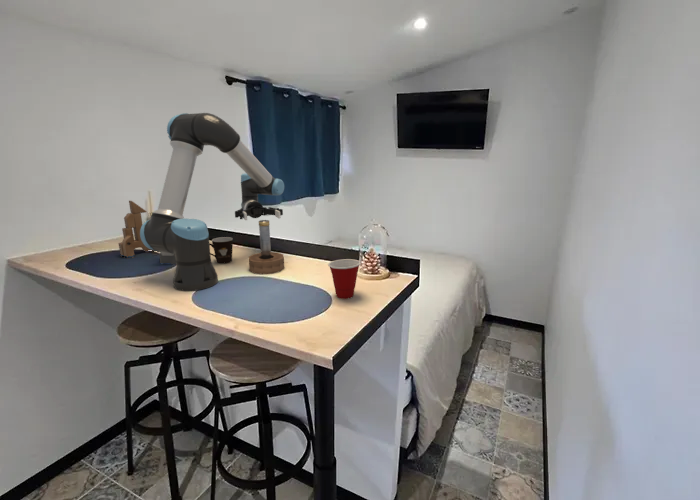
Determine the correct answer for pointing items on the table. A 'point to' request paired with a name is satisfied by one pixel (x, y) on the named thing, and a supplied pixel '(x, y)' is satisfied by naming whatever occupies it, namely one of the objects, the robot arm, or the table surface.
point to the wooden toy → (131, 222)
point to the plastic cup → (344, 276)
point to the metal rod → (265, 239)
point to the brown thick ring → (266, 263)
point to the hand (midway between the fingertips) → (263, 216)
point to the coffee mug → (222, 249)
